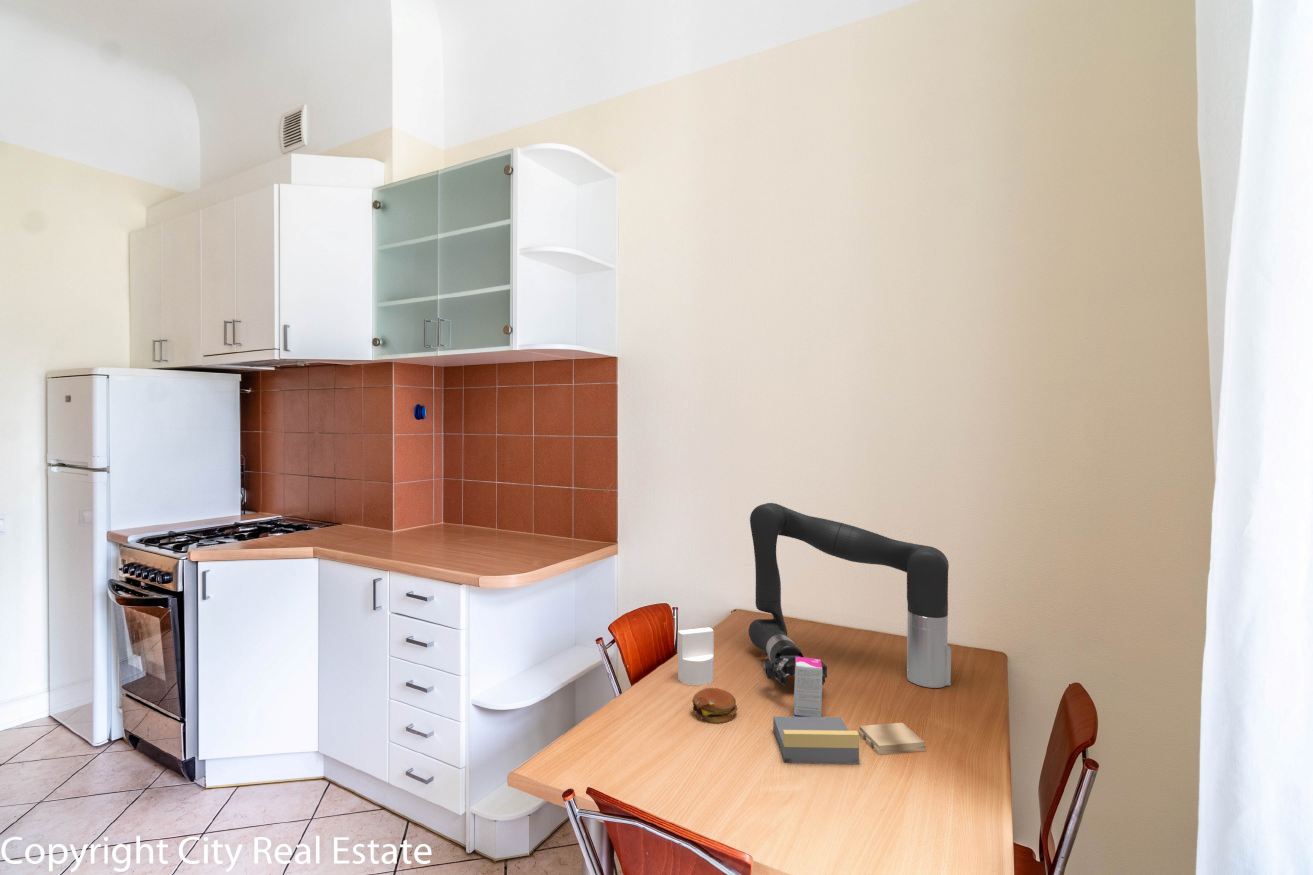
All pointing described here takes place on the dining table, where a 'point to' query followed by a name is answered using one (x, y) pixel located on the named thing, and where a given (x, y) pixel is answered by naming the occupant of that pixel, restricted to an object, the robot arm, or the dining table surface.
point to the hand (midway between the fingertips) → (803, 681)
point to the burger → (714, 705)
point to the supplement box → (808, 687)
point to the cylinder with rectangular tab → (696, 656)
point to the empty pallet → (891, 738)
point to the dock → (816, 740)
